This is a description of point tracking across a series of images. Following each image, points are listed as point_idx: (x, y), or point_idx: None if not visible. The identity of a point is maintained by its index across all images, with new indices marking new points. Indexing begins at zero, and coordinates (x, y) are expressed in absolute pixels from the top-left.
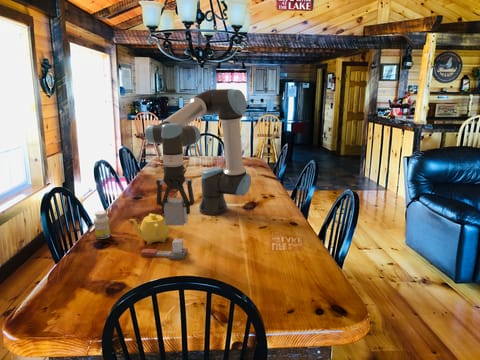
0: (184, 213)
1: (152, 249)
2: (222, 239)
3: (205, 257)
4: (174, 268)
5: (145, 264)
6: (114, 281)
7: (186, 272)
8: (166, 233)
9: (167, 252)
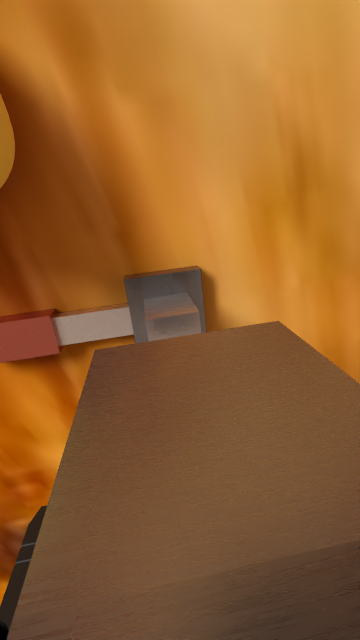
0: None
1: (24, 325)
2: (355, 55)
3: (290, 303)
4: None
5: (61, 413)
6: (25, 527)
7: None
8: (6, 153)
9: (113, 324)
